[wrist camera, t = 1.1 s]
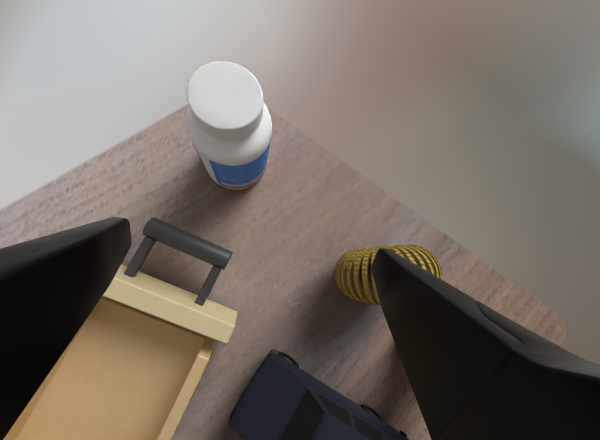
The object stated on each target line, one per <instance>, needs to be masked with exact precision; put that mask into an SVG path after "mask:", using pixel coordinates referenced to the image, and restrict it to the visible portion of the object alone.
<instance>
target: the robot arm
mask: <svg viewBox="0 0 600 440" xmlns="http://www.w3.org/2000/svg"><path fill="white" fill-rule="evenodd" d="M130 246H131V231H130V223H129V221H128V220H127V219H126V218H118V217H111V218H108V219H104V220H101V221H97V222H94V223H90V224H87V225H83V226H80V227H76V228H72V229H69V230H65V231H62V232H58V233H55V234H51V235H48V236H44V237H41V238H37V239H33V240H30V241H26V242H23V243H19V244H16V245H12V246H9V247H5V248H2V249H0V440H3V439H4V438H5V437H6V435H7V434H8V432H9V431H10V429H11V428H12V426H13V425H14V424H15V422H16V421H17V419H18V418H19V416H20V415H21V413H22V412H23V411H24V409H25V408H26V406H27V405H28V403H29V402H30V400H31V399H32V398H33V396H34V395H35V393H36V392H37V390H38V389H39V387H40V386H41V384H42V383H43V382H44V380H45V379H46V377H47V376H48V374H49V373H50V371H51V370H52V369H53V367H54V366H55V364H56V363H57V361H58V360H59V358H60V357H61V356H62V354H63V353H64V351H65V350H66V348H67V347H68V345H69V344H70V342H71V341H72V340H73V338H74V337H75V335H76V334H77V332H78V331H79V329H80V328H81V327H82V325H83V324H84V322H85V321H86V319H87V318H88V316H89V315H90V314H91V312H92V311H93V309H94V308H95V306H96V305H97V303H98V302H99V300H100V299H101V298H102V296H103V295H104V293H105V292H106V290H107V289H108V287H109V286H110V284H111V282H112V281H113V279H114V277H115V275H116V273H117V271H118V269H119V267H120V265H121V264H122V262H123V260H124V258H125V256H126V254H127V252H128V250H129V248H130ZM371 270H372V275H373V278H374V282H375V286H376V290H377V294H378V297H379V301H380V304H381V307H382V310H383V313H384V315H385V318H386V320H387V323H388V326H389V328H390V331H391V334H392V336H393V339H394V342H395V344H396V347H397V349H398V352H399V355H400V357H401V360H402V363H403V365H404V368H405V371H406V373H407V376H408V378H409V381H410V384H411V386H412V389H413V392H414V394H415V397H416V399H417V402H418V405H419V407H420V410H421V413H422V415H423V418H424V421H425V423H426V426H427V428H428V431H429V434H430V436H431V439H432V440H600V365H599V364H596V363H593V362H590V361H588V360H586V359H583V358H581V357H578V356H577V355H574V354H573V353H571V352H569V351H567V350H565V349H563V348H561V347H560V346H558V345H556V344H554V343H552V342H550V341H548V340H547V339H545V338H543V337H541V336H539V335H537V334H536V333H534V332H532V331H530V330H528V329H526V328H524V327H523V326H521V325H519V324H517V323H515V322H514V321H512V320H510V319H508V318H506V317H505V316H503V315H501V314H499V313H498V312H496V311H494V310H492V309H491V308H489V307H487V306H486V305H484V304H482V303H480V302H479V301H475V299H474V298H472V297H470V296H468V295H467V294H465V293H463V292H462V291H460V290H458V289H457V288H455V287H453V286H451V285H450V284H448V283H446V282H445V281H443V280H441V279H440V278H438V277H436V276H435V275H433V274H431V273H429V272H428V271H426V270H424V269H423V268H421V267H419V266H418V265H416V264H414V263H412V262H411V261H409V260H407V259H406V258H404V257H402V256H401V255H399V254H397V253H396V252H394V251H392V250H390V249H385V248H380V249H379V250H378V251H377V253H376V256H375V258H374V260H373V263H372V266H371Z"/></svg>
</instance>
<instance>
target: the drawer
mask: <svg viewBox="0 0 600 440" xmlns="http://www.w3.org/2000/svg"><path fill="white" fill-rule="evenodd" d="M143 235H145V238H144V239H143V241H142V243H141V245H140V246H139V248H138V250H137V251H136V253H135V255H134V257H133V258H132V260H131V262H130V264H129V265H128V267H127V266H125V265H123V264H121V265H120V267H119V269H118V271H117V273H116V275H115V277H114V279H113V281H112V282H111V284H110V286H109V287H108V289H107V290H106V292H105V293H104V295H103V296H102V298H101V299H100V300H99V302H98V303H97V305H96V306H95V308H94V309H93V311H92V312H91V314H90V315H89V316H88V318H87V319H86V321H85V322H84V324H83V325H82V327H81V328H80V329H79V331H78V332H77V334H76V335H75V337H74V338H73V340H72V341H71V342H70V344H69V345H68V347H67V348H66V350H65V351H64V353H63V354H62V356H61V357H60V358H59V360H58V361H57V363H56V364H55V366H54V367H53V369H52V370H51V371H50V373H49V374H48V376H47V377H46V379H45V380H44V382H43V383H42V384H41V386H40V387H39V389H38V390H37V392H36V393H35V395H34V396H33V398H32V399H31V400H30V402H29V403H28V405H27V406H26V408H25V409H24V411H23V412H22V413H21V415H20V416H19V418H18V419H17V421H16V422H15V424H14V425H13V426H12V428H11V429H10V431H9V432H8V434H7V435H6V437H5V438H4V439H3V440H172V438H173V436H174V433H175V431H176V429H177V427H178V425H179V423H180V421H181V419H182V416H183V414H184V412H185V410H186V408H187V406H188V404H189V402H190V399H191V397H192V395H193V393H194V391H195V389H196V387H197V385H198V382H199V380H200V378H201V376H202V374H203V372H204V370H205V368H206V365H207V363H208V361H209V359H210V356H211V353H212V350H213V348H214V345H215V342H216V340H217V341H220V342H223V343H225V344H227V343H228V341H229V339H230V336H231V334H232V332H233V330H234V328H235V323H236V317H237V311H234V310H232V309H230V308H227V307H225V306H222V305H220V304H217V303H215V302H213V301H210V300H208V299H207V297H208V295H209V293H210V291H211V289H212V287H213V285H214V283H215V281H216V279H217V277H218V275H219V273H220V271H221V269H225V267H226V266H227V264H228V262H229V260H230V258H231V255H232V252H231V251H229V250H227V249H225V248H222V247H220V246H218V245H216V244H213V243H211V242H209V241H207V240H204V239H202V238H200V237H198V236H195V235H193V234H191V233H189V232H186V231H184V230H182V229H180V228H177V227H175V226H173V225H171V224H168V223H166V222H164V221H162V220H159V219H157V218H151V219H150V220H149V221H148V222H147V224H146V225H145V227H144V230H143ZM146 236H147V237H146ZM156 241H159V242H161V243H163V244H166V245H168V246H170V247H173V248H175V249H177V250H179V251H182V252H184V253H186V254H189V255H191V256H193V257H196V258H198V259H200V260H203V261H205V262H207V263H210V264H212V265H214V266H213V267H212V269H211V271H210V273H209V275H208V277H207V279H206V281H205V283H204V285H203V287H202V289H201V291H200V293H199V295H196V294H193V293H191V292H188V291H186V290H183V289H181V288H179V287H176V286H174V285H171V284H169V283H166V282H164V281H162V280H159V279H157V278H154V277H152V276H149V275H147V274H145V273H142V272H140V271H139V270H140V268H141V266H142V264H143V263H144V261H145V259H146V257H147V256H148V254H149V252H150V250H151V249H152V247H153V245H154V243H155V242H156Z"/></svg>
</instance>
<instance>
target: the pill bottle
mask: <svg viewBox="0 0 600 440" xmlns="http://www.w3.org/2000/svg"><path fill="white" fill-rule="evenodd" d="M187 101H188V104H189V107H188V110H187V114H186V126H187V131H188V134H189V137H190V139H191V141H192V143H193V145H194V147H195V149H196V151H197V153H198V155H199V157H200V159H201V161H202V163H203V165H204V167H205V169H206V170H207V172H208V174H209V175H210V177H211V178H212V179H213V180H214V181H215V182H216V183H217V184H219V185H221V186H222V187H225V188H228V189H232V190H241V189H246V188H248V187H251V186H253V185H254V184H255V183H257V182H258V181H259V180H260V179H261V177H262V176H263V174H264V171H265V168H266V164H267V158H268V152H269V146H270V140H271V134H272V121H271V116H270V114H269V111H268V109H267V107H266V105H265V103H264V102H263V93H262V89H261V86H260V84H259V82H258V81H257V79H256V78H255V77H254V76H253V74H252V73H250V71H248V70H246V69H245V68H244V67H242V66H240V65H237V64H235V63H231V62H224V61H223V62H222V61H218V62H212V63H208V64H206V65H203V66H202V67H200V68H199V69H197V70H196V71H195V72H194V74H193V75H192V76H191V78H190V80H189V82H188V85H187Z"/></svg>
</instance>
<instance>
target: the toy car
mask: <svg viewBox="0 0 600 440" xmlns="http://www.w3.org/2000/svg"><path fill="white" fill-rule="evenodd" d="M272 351H275V352H278V351H277V350H274V349H272V350H271V351H270V352H269V354H270V355H269V354H268V355H267V356H266V358H265V359H264V360H263V362H262V363H261V365H260V366H259V368H258V369H257V371H256V372H255V374H254V376H253V377H252V379H251V380H250V382H249V384H248V385H247V387H246V389H245V390H244V392H243V393H242V395H241V397H240V399H239V400H238V402H237V404H236V406H235V408H234V409H233V411H232V413H231V416H230V418H229V419H230V420H229V422H228V426H229V427H230V428H232V429H233V430H234V431H235V432H236V433H237V434H239V435H240V436H242V437H243V438H245V439H246V440H409V439H408V438H406V437H407V435H406V434H405V433H404V432H402V431H401V430H400V432H401V433H399V432H398V431H397V430H395V429H394V428H392V427H391V426H389V425H388V424H387V423H385V422H384V421H383V419H382V418H381V417H380V416H379V415H378V414H377V413H376V412H375V411H374V410H373V409H371V408H370V407H369V406H367V405H365V404H362V405H361V407H360V406H359V405H357V404H355V403H354V402H352V401H351V400H349V399H348V398H346V397H344V396H343V395H341V394H340V393H338V392H337V391H335V390H333V389H332V388H330V387H329V386H327V385H325V384H324V383H322V382H321V381H319V380H317V379H316V378H314V377H312V376H311V375H309V374H308V373H306V372H305V371H303V370H301V369H299V365H298V364H297V362H296V361H295V360H294V359H293V358H291V357H290V356H289V355H287V354H285V353H283V352H278V355H277V354H276V353H274V352H273V353H272ZM267 357H268V358H267ZM266 359H267V360H266ZM265 360H266V361H265ZM264 361H265V362H264Z"/></svg>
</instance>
